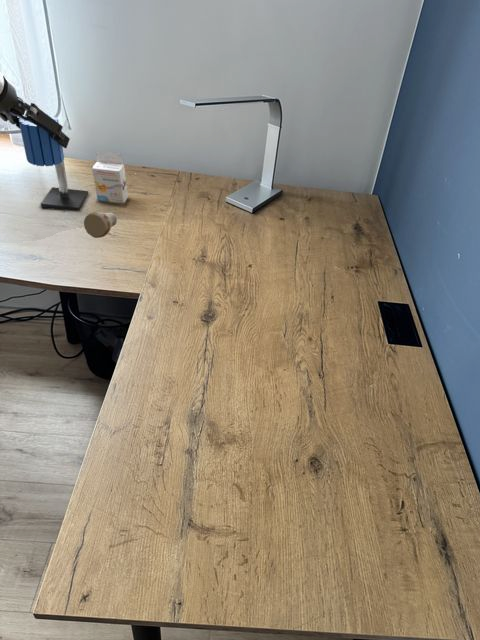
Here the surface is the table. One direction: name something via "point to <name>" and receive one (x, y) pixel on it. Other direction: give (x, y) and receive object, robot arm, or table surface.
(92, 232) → the mug
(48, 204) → the stand
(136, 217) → the table surface
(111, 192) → the ink box
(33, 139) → the blue ribbed pencil cup
